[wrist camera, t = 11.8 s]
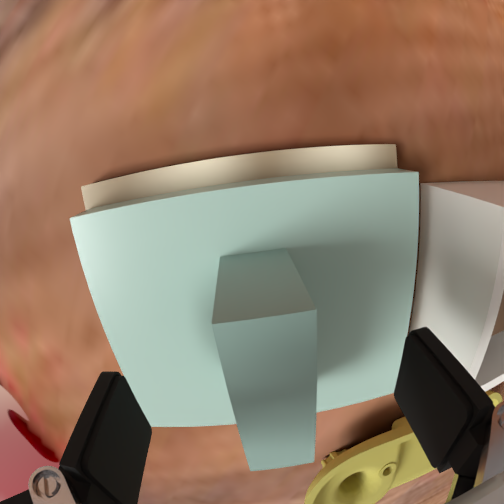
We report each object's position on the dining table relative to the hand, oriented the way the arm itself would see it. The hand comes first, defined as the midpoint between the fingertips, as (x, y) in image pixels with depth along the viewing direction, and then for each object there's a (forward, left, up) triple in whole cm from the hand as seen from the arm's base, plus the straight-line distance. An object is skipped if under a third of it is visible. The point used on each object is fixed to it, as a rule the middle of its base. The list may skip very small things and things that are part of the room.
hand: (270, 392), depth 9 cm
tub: (-15, 0, -6) cm, 16 cm away
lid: (0, 0, -5) cm, 5 cm away
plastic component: (-11, +17, -7) cm, 21 cm away
